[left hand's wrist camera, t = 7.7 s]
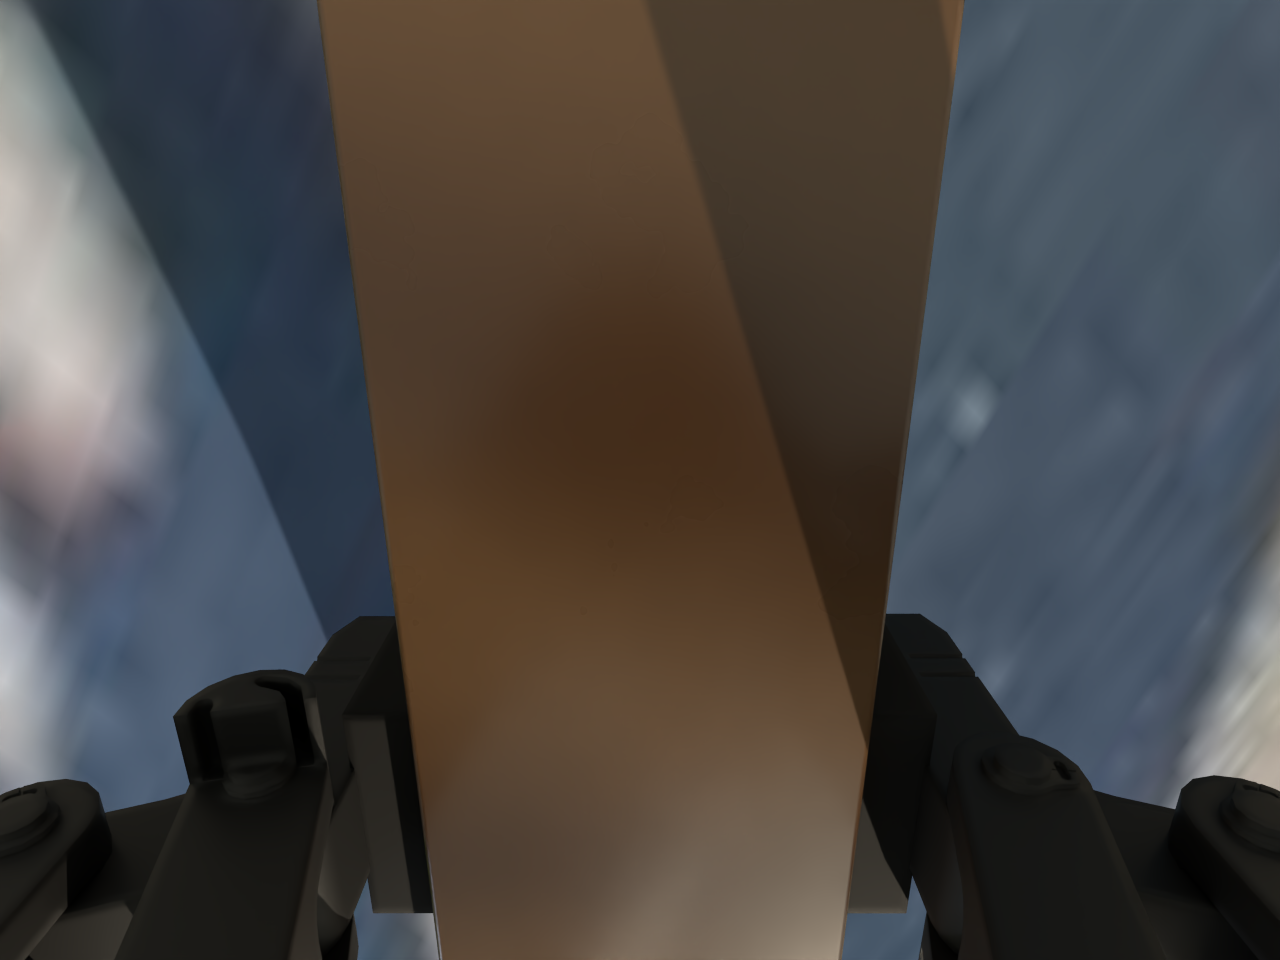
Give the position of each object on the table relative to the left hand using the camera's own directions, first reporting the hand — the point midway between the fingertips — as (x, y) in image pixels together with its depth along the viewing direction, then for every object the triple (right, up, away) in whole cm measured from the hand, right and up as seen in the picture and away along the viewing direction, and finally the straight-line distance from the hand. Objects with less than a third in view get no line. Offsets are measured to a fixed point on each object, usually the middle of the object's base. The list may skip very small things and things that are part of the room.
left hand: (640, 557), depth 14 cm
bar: (0, +32, -12) cm, 35 cm away
